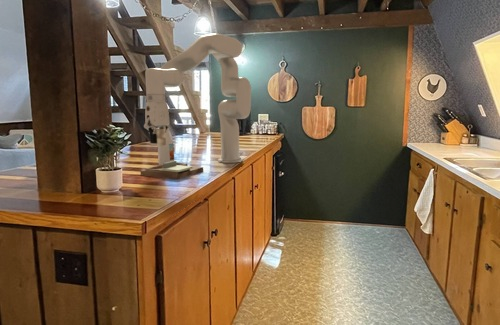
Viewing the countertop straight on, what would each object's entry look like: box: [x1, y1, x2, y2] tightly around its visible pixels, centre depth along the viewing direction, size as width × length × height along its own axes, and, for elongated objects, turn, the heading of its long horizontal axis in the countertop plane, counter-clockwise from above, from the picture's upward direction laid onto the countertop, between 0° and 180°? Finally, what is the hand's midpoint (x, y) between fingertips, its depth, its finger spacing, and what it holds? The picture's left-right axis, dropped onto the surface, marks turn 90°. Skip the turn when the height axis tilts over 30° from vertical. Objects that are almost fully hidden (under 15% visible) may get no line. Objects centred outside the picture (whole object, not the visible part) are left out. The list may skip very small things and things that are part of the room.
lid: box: [162, 160, 193, 172], centre depth 149 cm, size 9×9×3 cm
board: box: [139, 162, 204, 180], centre depth 157 cm, size 18×20×3 cm
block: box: [150, 127, 166, 147], centre depth 152 cm, size 4×4×7 cm
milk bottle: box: [157, 126, 175, 166], centre depth 177 cm, size 8×8×20 cm
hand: (158, 142), depth 152 cm, fingers closed on block, 4 cm apart
